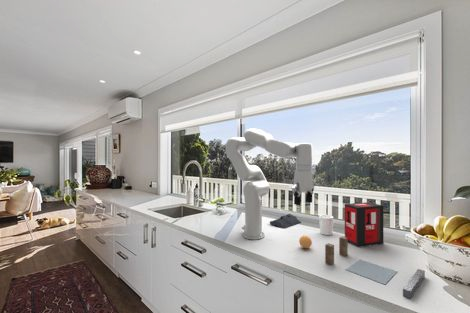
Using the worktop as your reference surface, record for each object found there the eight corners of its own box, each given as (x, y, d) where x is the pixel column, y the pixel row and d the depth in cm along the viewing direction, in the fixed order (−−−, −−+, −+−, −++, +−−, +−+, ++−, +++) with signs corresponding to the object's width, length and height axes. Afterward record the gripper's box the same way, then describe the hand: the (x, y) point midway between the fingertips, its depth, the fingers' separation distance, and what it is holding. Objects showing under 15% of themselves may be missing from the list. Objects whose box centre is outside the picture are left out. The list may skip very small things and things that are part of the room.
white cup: (316, 232, 138) (316, 215, 138) (326, 230, 141) (326, 214, 141) (325, 236, 131) (325, 218, 130) (336, 234, 133) (336, 217, 133)
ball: (296, 247, 115) (296, 235, 115) (303, 244, 119) (303, 233, 119) (307, 251, 110) (307, 239, 110) (314, 248, 114) (314, 236, 114)
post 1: (325, 263, 98) (325, 244, 98) (328, 261, 100) (328, 243, 100) (331, 265, 96) (331, 246, 96) (334, 263, 98) (334, 244, 98)
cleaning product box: (369, 237, 128) (369, 202, 128) (383, 243, 119) (383, 205, 119) (344, 240, 124) (344, 204, 124) (357, 247, 115) (357, 207, 115)
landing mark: (345, 269, 92) (345, 269, 92) (359, 259, 101) (359, 259, 101) (385, 284, 82) (385, 284, 82) (397, 271, 91) (397, 271, 91)
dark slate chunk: (265, 224, 154) (265, 217, 154) (284, 218, 169) (284, 212, 169) (285, 230, 143) (285, 222, 143) (303, 222, 158) (303, 216, 158)
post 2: (339, 254, 107) (339, 237, 107) (341, 253, 108) (341, 236, 108) (345, 256, 105) (345, 239, 105) (347, 254, 106) (347, 237, 106)
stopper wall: (403, 296, 75) (403, 288, 75) (418, 275, 88) (418, 268, 88) (410, 299, 74) (410, 291, 74) (424, 277, 87) (424, 270, 86)
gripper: (307, 167, 119) (306, 199, 120) (286, 168, 109) (285, 204, 109) (320, 168, 114) (320, 202, 114) (299, 169, 103) (299, 207, 103)
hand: (303, 203), depth 111 cm, fingers open, 9 cm apart
